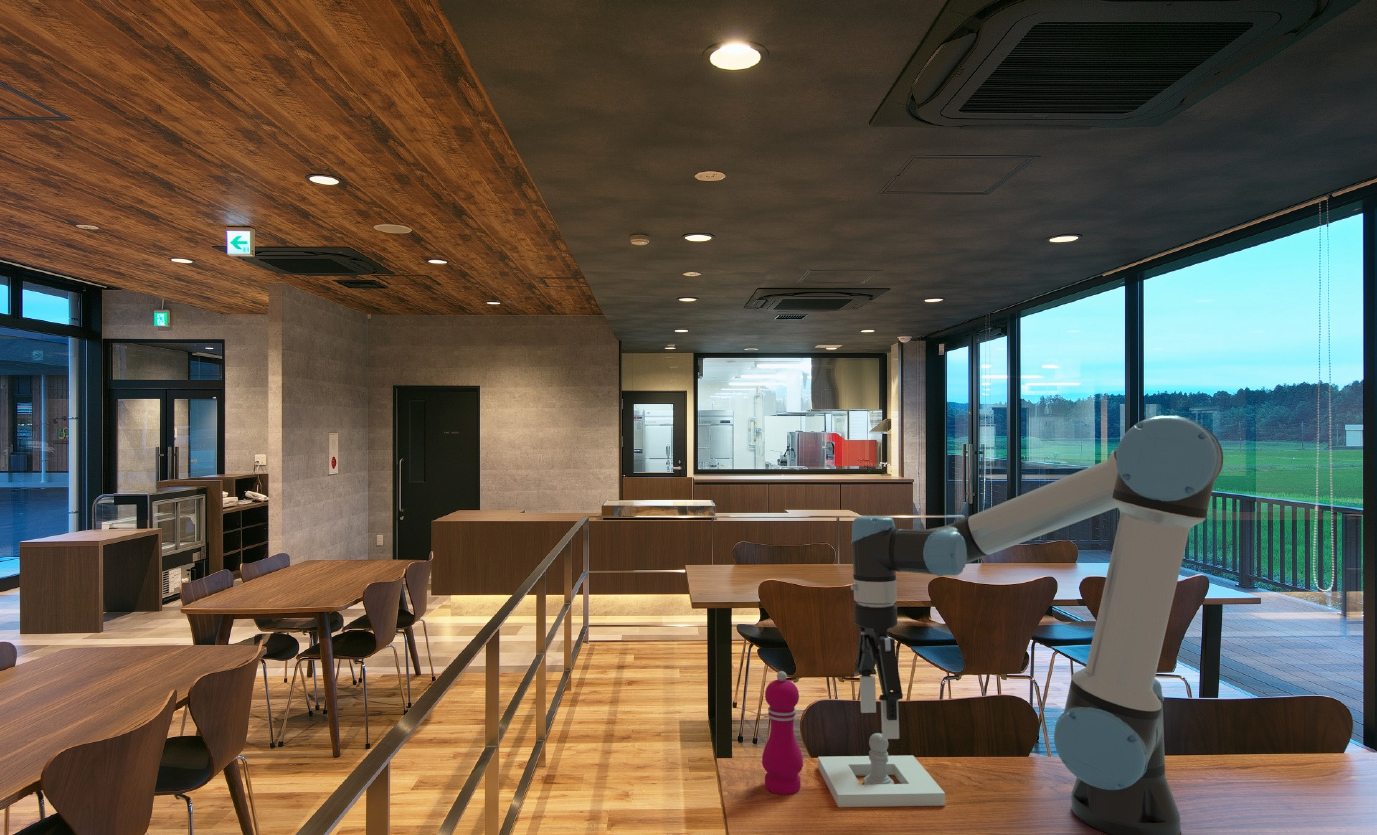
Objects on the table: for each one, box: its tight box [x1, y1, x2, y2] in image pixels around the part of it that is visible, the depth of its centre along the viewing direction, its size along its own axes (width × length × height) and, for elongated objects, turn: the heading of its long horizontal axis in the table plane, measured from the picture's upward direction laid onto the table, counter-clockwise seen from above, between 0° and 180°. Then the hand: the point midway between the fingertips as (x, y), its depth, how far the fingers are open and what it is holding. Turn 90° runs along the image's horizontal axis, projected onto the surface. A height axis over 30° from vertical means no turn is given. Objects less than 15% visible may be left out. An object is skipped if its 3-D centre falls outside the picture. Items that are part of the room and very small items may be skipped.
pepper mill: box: [761, 670, 804, 795], centre depth 132 cm, size 7×7×20 cm
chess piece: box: [862, 732, 895, 785], centre depth 132 cm, size 5×5×9 cm
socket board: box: [817, 755, 946, 808], centre depth 132 cm, size 18×16×2 cm
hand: (879, 724), depth 132 cm, fingers open, 13 cm apart
